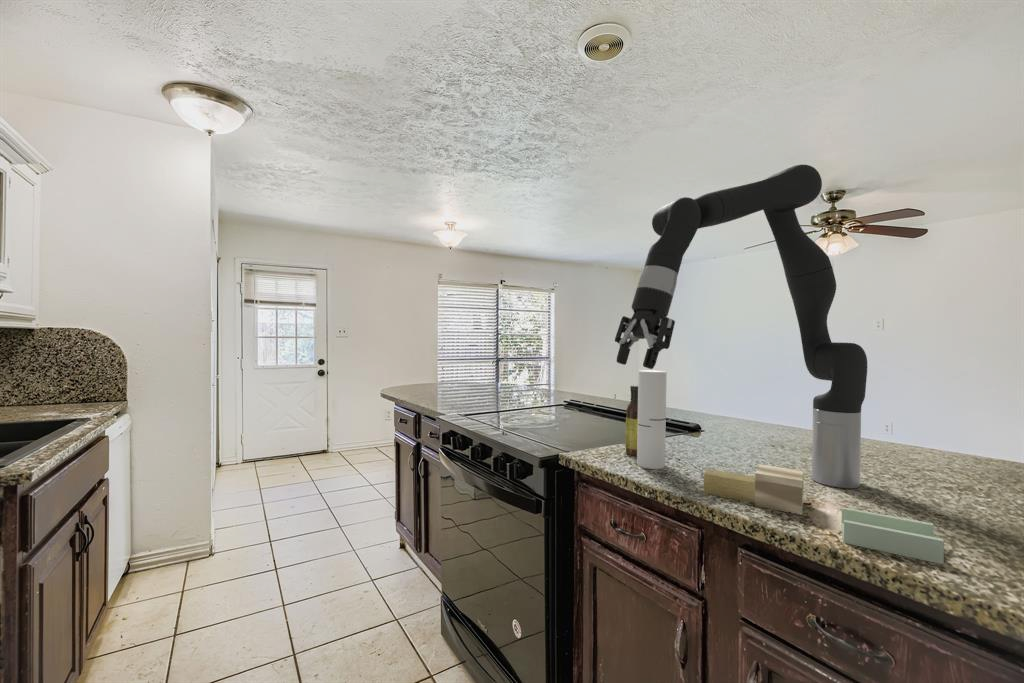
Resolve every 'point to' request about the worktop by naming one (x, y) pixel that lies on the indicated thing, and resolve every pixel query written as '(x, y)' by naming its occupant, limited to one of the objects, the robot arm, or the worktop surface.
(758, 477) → the beige u-shaped block
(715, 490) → the long yellowish block
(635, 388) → the sauce bottle
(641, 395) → the cylindrical container
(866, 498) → the worktop surface
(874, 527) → the cradle
